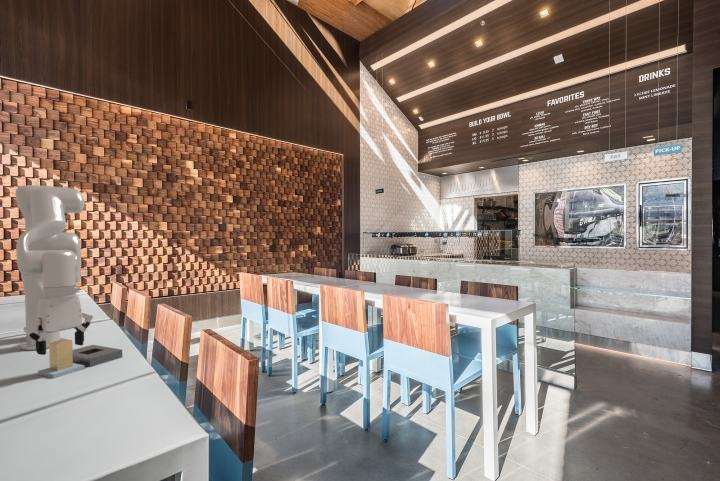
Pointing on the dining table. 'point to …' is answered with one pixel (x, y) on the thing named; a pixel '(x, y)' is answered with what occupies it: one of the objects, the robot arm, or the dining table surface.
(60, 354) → the brass block
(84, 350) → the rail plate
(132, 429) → the dining table surface
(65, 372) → the mat
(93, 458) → the dining table surface
